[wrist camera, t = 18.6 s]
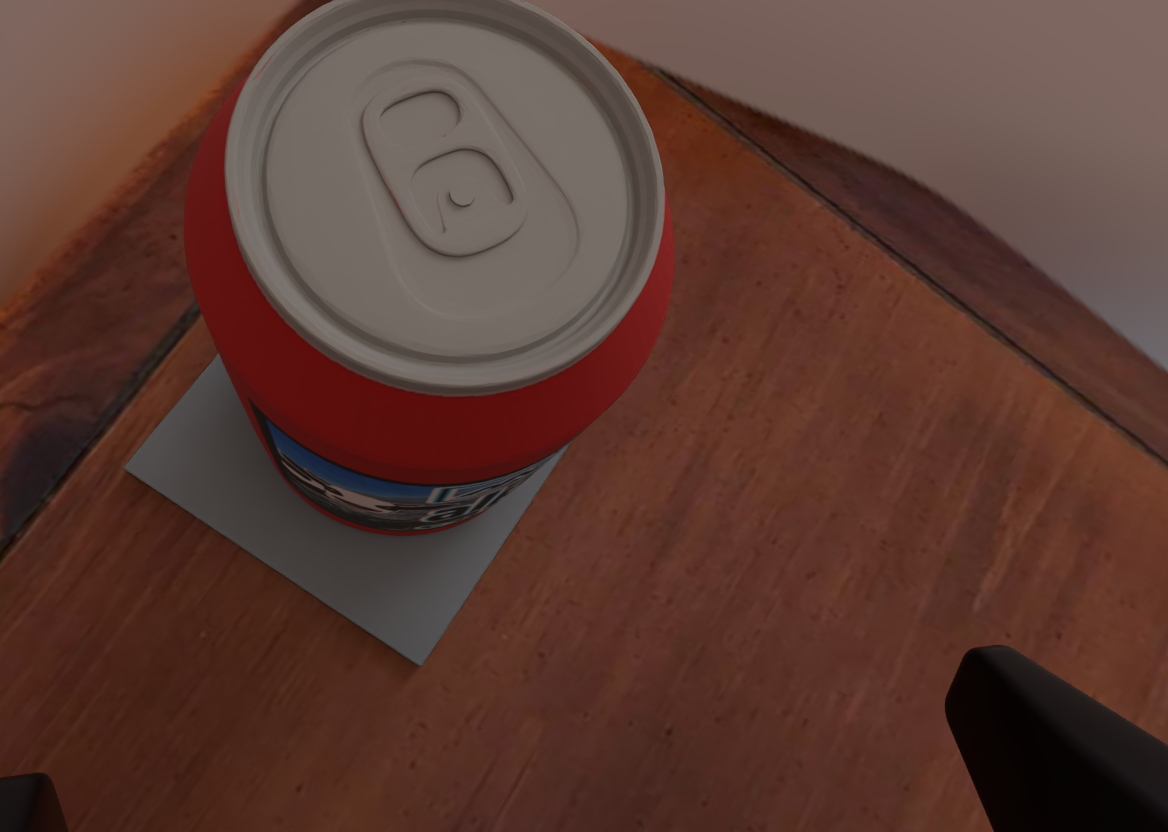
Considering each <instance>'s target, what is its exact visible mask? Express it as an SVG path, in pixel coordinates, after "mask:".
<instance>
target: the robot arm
mask: <svg viewBox="0 0 1168 832" xmlns="http://www.w3.org/2000/svg"><path fill="white" fill-rule="evenodd" d="M945 713H946V718H947V721H948V724H949V727H950V729H951V731H952V734H953V736H954V738H955V741H956V743H957V745H958V748H959V750H960V753H961V755H962V757H963V760H964V762H965V764H966V767H967V769H968V772H969V774H970V776H971V779H972V781H973V783H974V786H975V788H976V791H977V793H978V795H979V798H980V800H981V802H982V805H983V807H984V809H985V812H986V814H987V817H988V819H989V821H990V824H991V826H992V828H993V831H994V832H1168V745H1166V744H1165V743H1163V742H1162V741H1160V740H1158V739H1157V738H1155V737H1154V736H1152V735H1150V734H1149V733H1147V732H1146V731H1144V730H1142V729H1141V728H1139V727H1138V726H1136V725H1134V724H1133V723H1131V722H1130V721H1128V720H1126V719H1125V718H1123V717H1122V716H1120V715H1118V714H1117V713H1115V712H1114V711H1112V710H1110V709H1109V708H1107V707H1105V706H1104V705H1102V704H1101V703H1099V702H1097V701H1096V700H1094V699H1093V698H1091V697H1089V696H1088V695H1086V694H1085V693H1083V692H1081V691H1080V690H1078V689H1077V688H1075V687H1073V686H1072V685H1070V684H1069V683H1067V682H1065V681H1064V680H1062V679H1061V678H1059V677H1057V676H1056V675H1054V674H1053V673H1051V672H1049V671H1048V670H1046V669H1045V668H1043V667H1041V666H1040V665H1038V664H1036V663H1035V662H1033V661H1032V660H1030V659H1028V658H1027V657H1025V656H1024V655H1022V654H1020V653H1019V652H1017V651H1016V650H1014V649H1012V648H1010V647H1008V646H1004V645H992V646H985V647H977V648H972V649H970V650H969V651H968V652H966V653H965V655H964V657H963V658H962V661H961V663H960V665H959V668H958V670H957V672H956V675H955V677H954V679H953V682H952V684H951V686H950V689H949V691H948V693H947V696H946V699H945ZM0 832H68V827H67V824H66V821H65V818H64V815H63V812H62V809H61V806H60V803H59V800H58V796H57V793H56V790H55V787H54V784H53V782H52V780H51V778H50V777H49V776H48V775H47V774H45V773H32V774H24V775H17V776H9V777H3V778H0Z"/></svg>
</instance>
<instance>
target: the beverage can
mask: <svg viewBox="0 0 1168 832" xmlns="http://www.w3.org/2000/svg"><path fill="white" fill-rule="evenodd" d="M184 244H185V253H186V260H187V266H188V271H189V275H190V279H191V283H192V287H193V291H194V293H195V296H196V299H197V302H198V305H199V308H200V310H201V313H202V315H203V317H204V320H205V322H206V324H207V327H208V329H209V331H210V334H211V336H212V338H213V341H214V343H215V346H216V348H217V350H218V353H219V355H220V357H221V360H222V362H223V364H224V366H225V369H226V371H227V373H228V375H229V377H230V379H231V382H232V384H233V386H234V388H235V390H236V392H237V394H238V397H239V399H240V401H241V403H242V405H243V407H244V409H245V411H246V413H247V415H248V417H249V419H250V422H251V424H252V426H253V428H254V430H255V432H256V434H257V436H258V437H259V439H260V441H261V443H262V445H263V447H264V448H265V450H266V452H267V454H268V456H269V457H270V459H271V461H272V463H273V464H274V466H275V468H276V469H277V471H278V472H279V473H280V475H281V476H282V478H283V479H284V480H285V481H286V482H287V484H288V485H289V486H290V487H291V488H292V489H293V490H294V491H295V492H296V493H297V494H298V495H299V496H300V497H301V498H302V499H303V500H305V501H306V502H307V503H308V504H310V505H311V506H312V507H314V508H315V509H317V510H318V511H320V512H321V513H322V514H324V515H326V516H328V517H330V518H332V519H333V520H335V521H338V522H340V523H342V524H344V525H347V526H350V527H353V528H355V529H358V530H362V531H366V532H370V533H375V534H382V535H392V536H414V535H424V534H429V533H435V532H439V531H443V530H446V529H450V528H452V527H455V526H458V525H460V524H463V523H465V522H467V521H469V520H471V519H473V518H475V517H476V516H478V515H480V514H482V513H483V512H485V511H486V510H488V509H489V508H490V507H492V506H493V505H494V504H496V503H497V502H499V501H500V500H501V499H503V498H504V497H505V496H507V495H508V494H509V493H511V492H512V491H513V490H514V489H516V488H517V487H518V486H519V485H521V484H522V483H523V482H524V481H526V480H527V479H528V478H529V477H531V476H532V475H533V474H534V473H535V472H537V471H538V470H539V469H540V468H541V467H542V466H544V465H545V464H546V463H547V462H548V461H549V460H551V459H552V458H553V457H554V456H555V455H556V454H558V453H559V452H560V451H561V450H562V449H564V448H565V447H566V446H567V445H568V444H569V443H570V442H571V441H573V440H574V439H575V438H576V437H577V436H578V435H579V434H580V433H581V432H582V431H584V430H585V429H586V428H587V427H588V426H589V425H590V424H591V423H592V422H593V421H595V420H596V419H597V418H598V417H599V416H600V415H601V414H602V413H603V412H604V411H606V410H607V409H608V408H609V407H610V406H611V405H612V404H613V403H614V402H615V401H616V400H617V399H618V398H619V397H620V396H621V394H622V393H623V392H624V391H625V390H626V389H627V387H628V386H629V385H630V384H631V382H632V381H633V380H634V378H635V377H636V376H637V374H638V373H639V371H640V370H641V368H642V366H643V365H644V363H645V362H646V360H647V358H648V356H649V354H650V353H651V351H652V349H653V347H654V345H655V343H656V340H657V338H658V335H659V333H660V331H661V328H662V326H663V322H664V319H665V316H666V313H667V309H668V305H669V300H670V295H671V291H672V282H673V274H674V238H673V227H672V220H671V213H670V208H669V204H668V200H667V196H666V192H665V189H664V180H663V172H662V165H661V161H660V157H659V153H658V150H657V146H656V143H655V140H654V137H653V133H652V131H651V128H650V126H649V124H648V122H647V120H646V117H645V115H644V113H643V111H642V109H641V107H640V105H639V103H638V101H637V100H636V98H635V96H634V95H633V93H632V92H631V90H630V89H629V87H628V86H627V84H626V83H625V81H624V80H623V79H622V77H621V76H620V75H619V73H618V72H617V71H616V70H615V69H614V67H613V66H612V65H611V64H610V63H609V62H608V61H607V60H606V58H605V57H604V56H603V55H602V54H601V53H600V52H599V51H598V50H597V49H596V48H595V47H594V46H593V45H591V44H590V43H589V42H588V41H587V40H586V39H584V38H583V37H582V36H581V35H580V34H578V33H577V32H576V31H574V30H573V29H572V28H570V27H569V26H567V25H566V24H565V23H563V22H562V21H560V20H558V19H557V18H555V17H554V16H552V15H550V14H548V13H547V12H545V11H543V10H541V9H539V8H537V7H535V6H533V5H531V4H529V3H527V2H524V1H522V0H334V1H332V2H330V3H328V4H325V5H323V6H321V7H320V8H318V9H316V10H315V11H313V12H312V13H310V14H308V15H307V16H305V17H304V18H303V19H301V20H300V21H298V22H297V23H296V24H294V25H293V26H291V27H290V28H289V29H288V30H287V31H286V32H285V33H284V34H283V35H282V36H281V37H280V38H279V39H278V40H277V41H276V42H275V43H274V44H273V45H272V46H271V47H270V48H269V49H268V50H267V51H266V52H265V54H264V55H263V56H262V58H261V59H260V60H259V62H258V63H257V65H256V66H255V68H254V69H253V70H252V71H251V72H250V73H249V74H248V75H247V76H246V77H245V78H244V79H243V80H242V81H241V82H240V83H239V85H238V86H237V87H236V88H235V89H234V90H233V91H232V93H231V94H230V95H229V97H228V98H227V99H226V101H225V102H224V103H223V105H222V106H221V108H220V109H219V111H218V112H217V114H216V116H215V117H214V119H213V121H212V122H211V124H210V126H209V128H208V130H207V132H206V134H205V136H204V138H203V140H202V142H201V144H200V146H199V149H198V152H197V155H196V157H195V160H194V163H193V166H192V170H191V174H190V178H189V181H188V186H187V193H186V199H185V208H184Z"/></svg>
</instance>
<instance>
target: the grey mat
mask: <svg viewBox="0 0 1168 832" xmlns="http://www.w3.org/2000/svg"><path fill="white" fill-rule="evenodd" d="M570 443H571V442H570ZM570 443H569V444H570ZM569 444H568V445H567V446H566V447H565V448H564V449H562V450H561V451H560V452H559V453H558V454H556V455H555V456H554V457H553V458H552V459H551V460H549V461H548V462H547V463H546V464H545V465H544V466H542V467H541V468H540V469H539V470H538V471H537V472H535V473H534V474H533V475H532V476H531V477H529V478H528V479H527V480H526V481H524V482H523V483H522V484H521V485H519V486H518V487H517V488H516V489H514V490H513V491H512V492H511V493H509V494H508V495H507V496H505V497H504V498H503V499H501V500H500V501H499V502H497V503H496V504H494V505H493V506H492V507H490V508H489V509H488V510H486V511H485V512H483V513H482V514H480V515H478V516H476V517H475V518H473V519H471V520H469V521H467V522H465V523H463V524H460V525H458V526H455V527H452V528H450V529H446V530H443V531H439V532H435V533H429V534H424V535H414V536H392V535H382V534H375V533H370V532H366V531H362V530H358V529H355V528H353V527H350V526H347V525H344V524H342V523H340V522H338V521H335V520H333V519H332V518H330V517H328V516H326V515H324V514H322V513H321V512H320V511H318V510H317V509H315V508H314V507H312V506H311V505H310V504H308V503H307V502H306V501H305V500H303V499H302V498H301V497H300V496H299V495H298V494H297V493H296V492H295V491H294V490H293V489H292V488H291V487H290V486H289V485H288V484H287V482H286V481H285V480H284V479H283V478H282V476H281V475H280V473H279V472H278V471H277V469H276V468H275V466H274V464H273V463H272V461H271V459H270V457H269V456H268V454H267V452H266V450H265V448H264V447H263V445H262V443H261V441H260V439H259V437H258V436H257V434H256V432H255V430H254V428H253V426H252V424H251V422H250V419H249V417H248V415H247V413H246V411H245V409H244V407H243V405H242V403H241V401H240V399H239V397H238V394H237V392H236V390H235V388H234V386H233V384H232V382H231V379H230V377H229V375H228V373H227V371H226V369H225V366H224V364H223V362H222V360H221V357H220V355H219V353H218V354H217V356H216V357H215V358H214V359H213V360H212V362H211V363H210V364H209V365H208V366H207V368H206V369H205V370H204V371H203V372H202V374H201V375H200V376H199V377H198V378H197V380H196V381H195V382H194V383H193V384H192V386H191V387H190V388H189V389H188V390H187V391H186V393H185V394H184V395H183V396H182V397H181V399H180V400H179V401H178V402H177V403H176V405H175V406H174V407H173V408H172V409H171V411H170V412H169V413H168V414H167V415H166V417H165V418H164V419H163V420H162V421H161V422H160V424H159V425H158V426H157V427H156V428H155V430H154V431H153V432H152V433H151V434H150V436H149V437H148V438H147V439H146V440H145V442H144V443H143V444H142V445H141V446H140V448H139V449H138V450H137V451H136V452H135V454H134V455H133V456H132V457H131V458H130V459H129V461H128V462H127V463H126V464H125V465H124V467H123V468H124V469H125V470H126V471H127V472H129V473H130V474H132V475H133V476H135V477H136V478H138V479H139V480H141V481H142V482H144V483H145V484H147V485H148V486H150V487H151V488H153V489H154V490H156V491H157V492H159V493H160V494H162V495H163V496H165V497H166V498H168V499H169V500H171V501H172V502H174V503H175V504H177V505H178V506H180V507H181V508H183V509H184V510H186V511H187V512H189V513H190V514H192V515H193V516H195V517H196V518H198V519H199V520H201V521H202V522H204V523H205V524H207V525H208V526H210V527H211V528H213V529H214V530H216V531H217V532H219V533H220V534H222V535H223V536H225V537H226V538H228V539H229V540H231V541H232V542H233V543H235V544H236V545H238V546H239V547H241V548H242V549H244V550H245V551H247V552H248V553H250V554H251V555H253V556H254V557H256V558H257V559H259V560H260V561H262V562H263V563H265V564H266V565H268V566H269V567H271V568H272V569H274V570H275V571H277V572H278V573H280V574H281V575H283V576H284V577H286V578H287V579H289V580H290V581H292V582H293V583H295V584H296V585H298V586H299V587H301V588H302V589H304V590H305V591H307V592H308V593H310V594H311V595H313V596H314V597H316V598H317V599H319V600H320V601H322V602H323V603H325V604H326V605H328V606H329V607H331V608H332V609H334V610H335V611H337V612H338V613H340V614H341V615H343V616H344V617H346V618H347V619H349V620H350V621H352V622H353V623H355V624H356V625H358V626H359V627H361V628H362V629H364V630H365V631H367V632H368V633H369V634H371V635H372V636H374V637H375V638H377V639H378V640H380V641H381V642H383V643H384V644H386V645H387V646H389V647H390V648H392V649H393V650H395V651H396V652H398V653H399V654H401V655H402V656H404V657H405V658H407V659H408V660H410V661H411V662H413V663H414V664H416V665H417V666H419V667H421V666H422V665H423V664H424V662H425V661H426V659H427V658H428V656H429V655H430V653H431V652H432V650H433V649H434V647H435V646H436V644H437V643H438V641H439V640H440V638H441V637H442V635H443V634H444V632H445V631H446V629H447V628H448V626H449V625H450V623H451V622H452V620H453V619H454V617H455V616H456V614H457V613H458V611H459V610H460V608H461V607H462V605H463V604H464V602H465V601H466V599H467V598H468V596H469V595H470V593H471V592H472V590H473V589H474V587H475V586H476V584H477V583H478V581H479V580H480V578H481V577H482V575H483V574H484V572H485V571H486V569H487V568H488V566H489V565H490V563H491V562H492V560H493V559H494V557H495V556H496V554H497V553H498V551H499V550H500V548H501V547H502V545H503V544H504V542H505V541H506V539H507V538H508V536H509V535H510V533H511V532H512V530H513V529H514V527H515V526H516V524H517V523H518V521H519V520H520V518H521V517H522V515H523V514H524V512H525V511H526V509H527V508H528V506H529V505H530V503H531V502H532V500H533V499H534V497H535V496H536V494H537V492H538V491H539V489H540V488H541V486H542V485H543V483H544V482H545V480H546V479H547V477H548V476H549V474H550V473H551V471H552V470H553V468H554V467H555V465H556V464H557V462H558V461H559V459H560V458H561V456H562V455H563V453H564V452H565V450H566V449H567V447H568V446H569Z"/></svg>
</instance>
